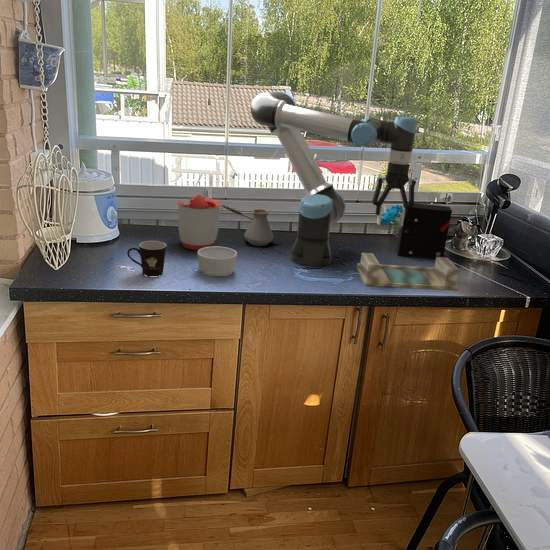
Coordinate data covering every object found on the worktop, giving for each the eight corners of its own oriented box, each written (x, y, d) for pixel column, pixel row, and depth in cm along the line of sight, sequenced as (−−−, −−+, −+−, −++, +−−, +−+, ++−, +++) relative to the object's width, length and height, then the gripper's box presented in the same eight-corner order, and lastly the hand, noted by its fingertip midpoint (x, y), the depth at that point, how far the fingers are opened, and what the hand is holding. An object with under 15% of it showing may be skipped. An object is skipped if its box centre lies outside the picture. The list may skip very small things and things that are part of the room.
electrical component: (438, 253, 231) (448, 205, 223) (443, 261, 221) (453, 211, 214) (395, 248, 232) (403, 200, 225) (398, 256, 222) (406, 207, 215)
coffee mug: (170, 272, 189) (171, 243, 185) (157, 280, 181) (157, 251, 178) (140, 265, 192) (140, 237, 189) (126, 274, 185) (125, 244, 181)
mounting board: (364, 285, 191) (367, 265, 188) (356, 268, 206) (358, 249, 203) (457, 290, 193) (461, 270, 191) (442, 273, 208) (445, 254, 206)
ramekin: (189, 273, 189) (190, 254, 187) (208, 262, 201) (209, 243, 198) (225, 281, 185) (226, 261, 183) (242, 269, 197) (243, 250, 194)
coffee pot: (270, 238, 232) (273, 202, 226) (274, 247, 221) (277, 210, 216) (218, 237, 228) (219, 201, 222) (220, 246, 217) (221, 208, 212)
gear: (374, 216, 213) (396, 199, 211) (383, 226, 216) (405, 210, 213) (382, 228, 204) (405, 211, 201) (391, 239, 206) (414, 222, 203)
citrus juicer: (193, 236, 227) (194, 186, 220) (226, 246, 218) (229, 195, 211) (165, 244, 215) (165, 192, 208) (199, 255, 206) (200, 202, 199)
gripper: (373, 162, 196) (364, 225, 204) (430, 166, 198) (419, 229, 206) (368, 158, 203) (360, 219, 211) (424, 162, 205) (414, 223, 213)
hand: (389, 224), depth 209 cm, fingers closed on gear, 8 cm apart
